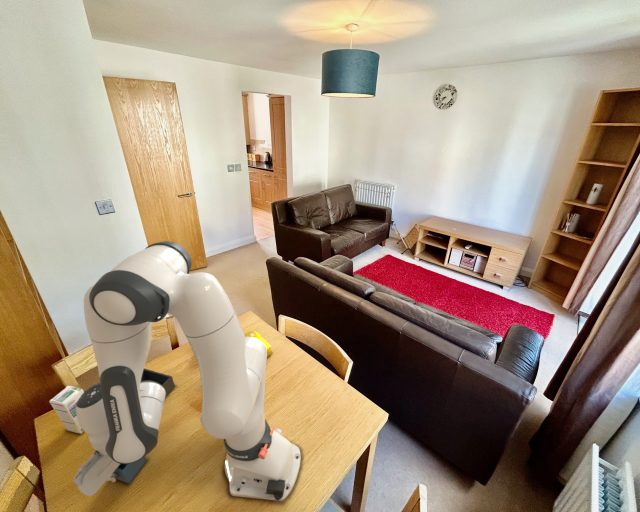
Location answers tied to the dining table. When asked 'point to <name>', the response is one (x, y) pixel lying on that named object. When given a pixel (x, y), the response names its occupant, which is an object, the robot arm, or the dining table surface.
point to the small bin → (129, 470)
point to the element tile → (256, 335)
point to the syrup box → (68, 407)
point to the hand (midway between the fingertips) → (127, 463)
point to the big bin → (159, 379)
